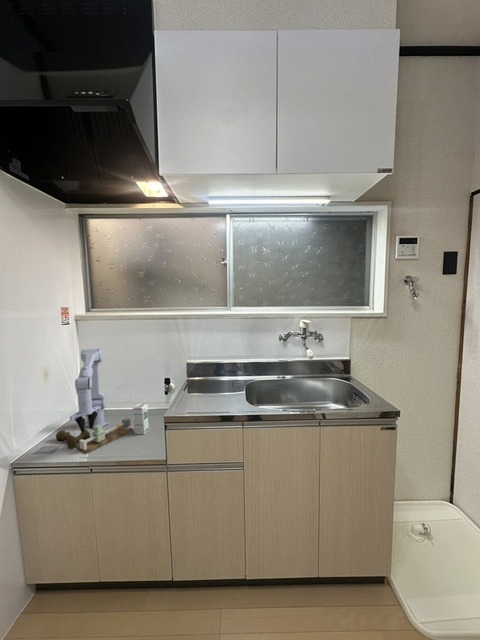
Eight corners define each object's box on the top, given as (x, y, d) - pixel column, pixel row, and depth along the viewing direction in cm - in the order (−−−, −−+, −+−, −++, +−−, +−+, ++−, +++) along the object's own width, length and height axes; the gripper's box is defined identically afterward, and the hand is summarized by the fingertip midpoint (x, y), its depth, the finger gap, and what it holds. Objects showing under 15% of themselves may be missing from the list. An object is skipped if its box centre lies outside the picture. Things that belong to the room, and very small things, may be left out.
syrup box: (144, 434, 164) (143, 407, 163) (134, 433, 165) (132, 407, 164) (149, 429, 170) (148, 403, 168) (139, 428, 171) (138, 403, 169)
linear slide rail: (84, 450, 147) (83, 440, 147) (80, 448, 149) (79, 438, 149) (131, 427, 170) (130, 419, 170) (126, 426, 172) (126, 417, 172)
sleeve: (98, 442, 153) (97, 428, 152) (93, 440, 155) (92, 426, 154) (105, 438, 157) (104, 425, 156) (100, 437, 159) (99, 423, 158)
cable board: (86, 453, 146) (86, 451, 146) (76, 449, 150) (76, 447, 150) (133, 430, 169) (133, 428, 169) (123, 427, 173) (123, 425, 173)
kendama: (69, 436, 165) (96, 442, 157) (51, 445, 156) (79, 452, 148) (67, 425, 164) (95, 431, 156) (50, 433, 156) (78, 440, 147)
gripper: (75, 409, 140) (77, 438, 142) (103, 398, 153) (105, 425, 154) (66, 406, 144) (68, 434, 145) (95, 396, 156) (96, 422, 158)
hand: (87, 429), depth 150 cm, fingers open, 4 cm apart
